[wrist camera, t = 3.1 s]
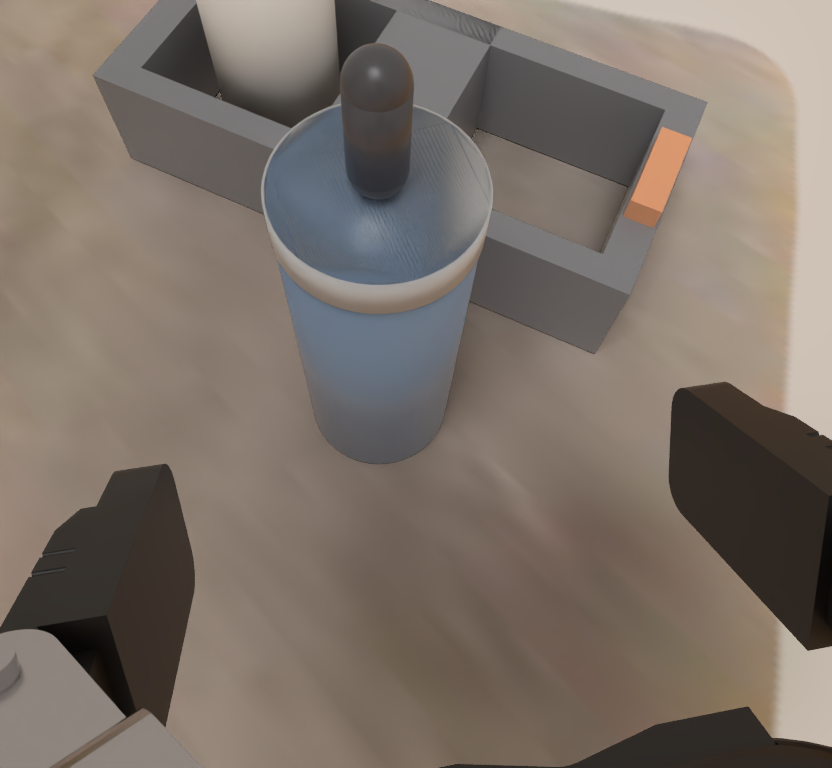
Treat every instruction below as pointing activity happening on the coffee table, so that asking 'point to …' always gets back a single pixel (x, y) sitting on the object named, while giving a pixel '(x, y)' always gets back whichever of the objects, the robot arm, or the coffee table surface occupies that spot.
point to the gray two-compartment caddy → (433, 89)
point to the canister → (377, 255)
